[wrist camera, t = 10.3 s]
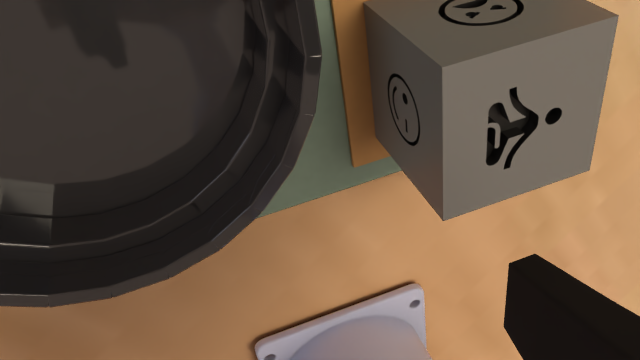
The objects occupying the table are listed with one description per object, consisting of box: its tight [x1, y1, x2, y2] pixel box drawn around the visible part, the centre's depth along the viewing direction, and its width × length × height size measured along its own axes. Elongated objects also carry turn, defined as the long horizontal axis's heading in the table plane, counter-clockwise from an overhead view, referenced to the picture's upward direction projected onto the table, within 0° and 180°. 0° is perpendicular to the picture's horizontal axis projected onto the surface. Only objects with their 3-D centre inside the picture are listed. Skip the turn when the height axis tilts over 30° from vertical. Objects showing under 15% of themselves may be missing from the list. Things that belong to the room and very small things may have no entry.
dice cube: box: [363, 0, 619, 221], centre depth 18 cm, size 5×5×5 cm
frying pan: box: [0, 0, 322, 307], centre depth 15 cm, size 13×13×3 cm
